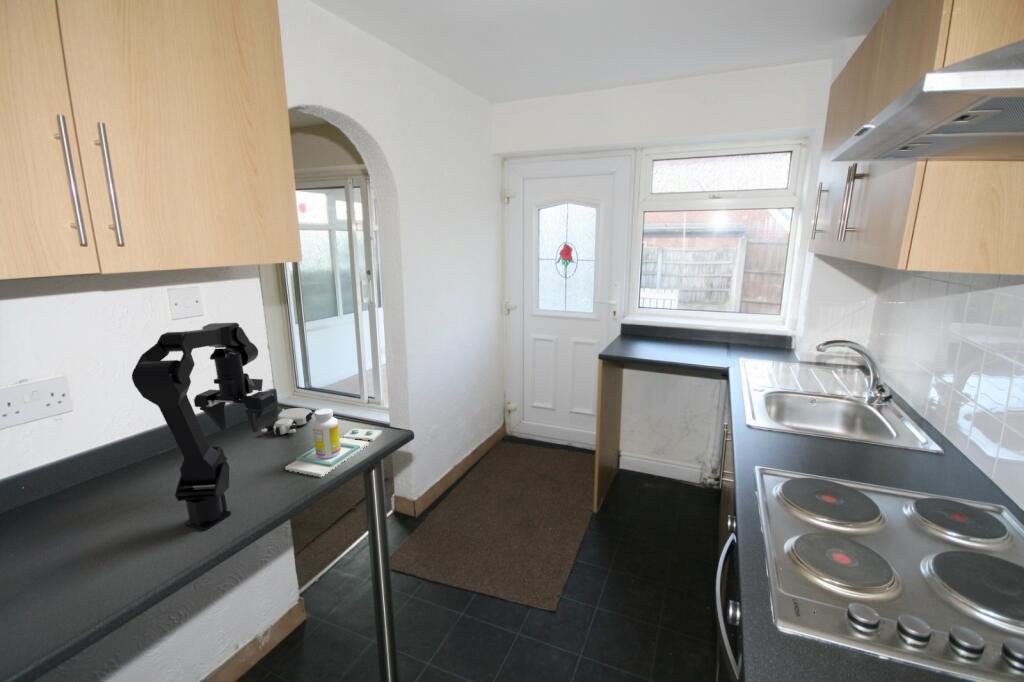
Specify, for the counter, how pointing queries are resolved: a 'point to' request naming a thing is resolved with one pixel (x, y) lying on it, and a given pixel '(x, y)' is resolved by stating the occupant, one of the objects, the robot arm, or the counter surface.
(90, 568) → the counter surface
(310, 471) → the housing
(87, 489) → the counter surface
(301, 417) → the robot toy
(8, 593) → the counter surface
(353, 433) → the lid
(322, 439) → the supplement bottle
